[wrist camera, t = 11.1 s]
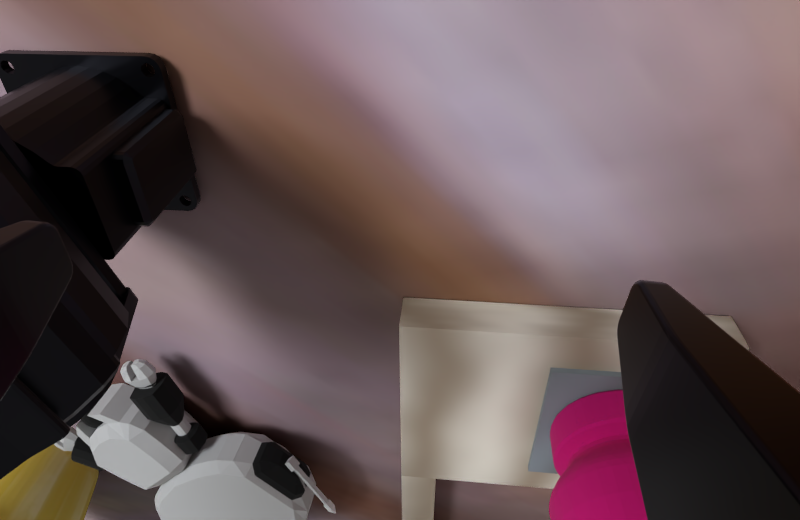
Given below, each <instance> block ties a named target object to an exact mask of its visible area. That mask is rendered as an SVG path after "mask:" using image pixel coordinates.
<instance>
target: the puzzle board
mask: <svg viewBox="0 0 800 520" xmlns="http://www.w3.org/2000/svg"><path fill="white" fill-rule="evenodd" d="M622 311H623V310H613V309H595V308H578V307H561V306H544V305H526V304H509V303H492V302H475V301H457V300H440V299H423V298H406V297H403V303H402V310H401V317H400V324H399V350H400V415H401V481H402V520H434V502H435V483H436V479H444V480H456V481H467V482H479V483H490V484H502V485H514V486H525V487H537V488H548V489H554V487H555V485H556V483H557V481H558V480H559V478H560V475H559V474H558V473H557V471H556V469H555V467H554V463H553V456H552V448H551V441H550V430H551V425H552V423H553V421H554V419H555V417H556V416H557V414H558V413H559V412H561V411H562V410H563V409H564V408H565V407H566V406H567V405H569V404H570V403H572V402H574V401H576V400H578V399H579V398H582V397H585V396H588V395H591V394H594V393H597V392H604V391H612V390H623V388H622V378H621V369H620V359H619V349H618V339H617V328H618V322H619V319H620V316H621V314H622ZM706 316H707V317H708V318H709V319H711V320H712V321H713V322H714V323H716V324H717V325H718V326H719V327H720V328H722V329H723V330H724V331H725V332H727V333H728V334H729V335H730V336H731V337H733V338H734V339H735V340H736V341H737V342H739V343H740V344H741V345H742V346H744V347H745V348H746V349H747V350H749V349H750V348H749V346H748V345H747V343H746V341H745V339H744V338H743V336H742V334H741V332H740V331H739V329H738V327H737V325H736V324H735V322H734V320H733V319H732V317H731V316H716V315H706Z"/></svg>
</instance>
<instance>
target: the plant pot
mask: <svg viewBox="0 0 800 520" xmlns="http://www.w3.org/2000/svg"><path fill="white" fill-rule="evenodd" d="M71 454H72V451H63V450H61V449H60V448H58V447H56V446H55V445H54V444H53V445H51V446H50V447H48V448H46V449H44V450H43V451H41V452H39V453H37V454H36V455H34V456H32V457H31V458H29V459H27V460H26V461H25V462H23V463H22V464H21V465H19V466H18V467H17V468H15V469H14V470H13V471H11V472H10V473H9V474H7V475H6V476H5V477H3V478H2V479H0V520H84V518H85V515H86V512H87V509H88V506H89V503H90V500H91V497H92V494H93V491H94V488H95V485H96V482H97V479H98V475H99V471H98V470H97V469H94V468H91V467H88V466H85V465H83V464H80V463H77V462H74V461H73V460H72V459H71Z"/></svg>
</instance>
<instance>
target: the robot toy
mask: <svg viewBox="0 0 800 520" xmlns="http://www.w3.org/2000/svg"><path fill="white" fill-rule="evenodd" d="M120 373H121V375H122V377H123V379H124V381H125V382H126V383H128V384H130V385H132V386H134V387H135V388H134V387H132V386H130V385H127V384H125V383H120V384H113V385H111V386H110V388H109V389H108V390H107V391H106V392H105V394H104V395H103V397H102V398H101V399H100V400H99V401H98V402H97V403H96V405H95V406H94V407H93V408H92V409H91V410H90V411H89V412H88V413H87V414H85V415H84V416H83V417H82V418H81V420H80V422H79V423H78V424H77V425H76V430H77V431H76V430H75V429H74V428H73V427H70V432H69V433H68V435H67V436H66V437H65V438H63V439H61V440H60V441H58V442H56V443H55V444H54V445H55V446H56V447H58V448H60V449H61V450H63V451H72V454H71V459H72V460H73V461H74V462H77V463H80V464H83V465H85V466H88V467H91V468H94V469H97V470H107V471H108V472H110V473H112V474H114V475H116V476H118V477H120V478H122V479H124V480H126V481H128V482H130V483H132V484H134V485H136V486H138V487H140V488H143V489H145V490H147V489H150V488H154V487H157V486H160V485H161V486H160V488H159V490H158V492H157V494H156V496H155V506H156V510H157V512H158V514H159V517H160V519H161V520H307V516H308V513H309V510H310V507H311V504H312V500H313V497H314V494H315V495H316V496H317V497H318V498H319V499H320V500H321V502H322V503H323V504H324V507H325V508H326V509H327V510H328V511H329V512H331V513H336V509H335V505H334V504H333V503H332V501H331V500H330V499H329V500H328V499H327V498H326V497H325V495H324V494H323V493H322V492H321V491H320V490H319V489H318V487H317V486H316V482H315V480H314V478H313V475H312V473H311V471H310V469H309V467H308V466H307V465H306V464H305V463H304V462H302V461H301V460H299V459H298V458H297V457H295V456H294V455H292V454H291V453H290V452H289V451H288V450H287V449H286V448H285V447H283V446H282V445H280V444H278V443H276V442H274V441H272V440H271V439H269V438H268V437H267V436H265V435H263V434H255V433H247V432H235V433H229V434H223V435H219V436H215V437H211V438H208V439H207V436H208V434H207V433H206V431H205V430H204V429H203V428H202V426H201V425H200V424H199V423H198V422H197V421H196V420H195V419H194V418H193V417H192V416H191V415H190V414H189V413H187V412H186V411H185V410H184V395H183V393H182V392H181V391H180V389H179V388H178V387H177V385H176V384H175V383H174V381H173V380H172V379H171V377H170V376H169V375H168V374H167V373H163V372H159V373H156V370H155V367H154V366H153V365H151V364H150V363H149V362H148V361H147V360H141V359H138V360H135V361H134V362H132V361H127V362H126V363H124V364H123V366H122V368H121V371H120Z"/></svg>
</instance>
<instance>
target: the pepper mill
mask: <svg viewBox="0 0 800 520" xmlns="http://www.w3.org/2000/svg"><path fill="white" fill-rule="evenodd" d="M550 441H551V448H552V456H553V463H554V467H555V469H556V471H557V473H558V474H559V475H560V478H559V480H558V481H557V483H556V485H555V487H554V489H553V491H552V494H551V498H550V502H549V514H550V519H551V520H648V519H647V514H646V510H645V506H644V501H643V497H642V493H641V488H640V484H639V480H638V475H637V471H636V467H635V462H634V458H633V453H632V449H631V445H630V440H629V435H628V430H627V424H626V416H625V408H624V398H623V390H612V391H604V392H597V393H594V394H591V395H588V396H585V397H582V398H579V399H578V400H576V401H574V402H572V403H570V404H569V405H567V406H566V407H565V408H564V409H563V410H562V411H561V412H559V413H558V414H557V416H556V417H555V419H554V421H553V423H552V425H551V430H550Z"/></svg>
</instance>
